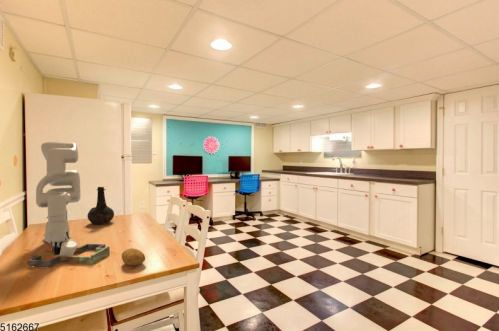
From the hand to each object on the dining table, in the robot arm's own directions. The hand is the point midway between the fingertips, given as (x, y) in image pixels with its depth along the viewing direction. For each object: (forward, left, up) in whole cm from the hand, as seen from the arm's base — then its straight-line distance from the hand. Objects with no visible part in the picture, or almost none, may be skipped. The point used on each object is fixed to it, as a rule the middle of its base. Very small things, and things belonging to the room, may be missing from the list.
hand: (58, 254), depth 132 cm
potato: (+42, -4, -2) cm, 42 cm away
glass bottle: (-22, +66, -2) cm, 69 cm away
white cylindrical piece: (+4, 0, -1) cm, 4 cm away
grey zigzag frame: (+7, +1, -2) cm, 7 cm away
